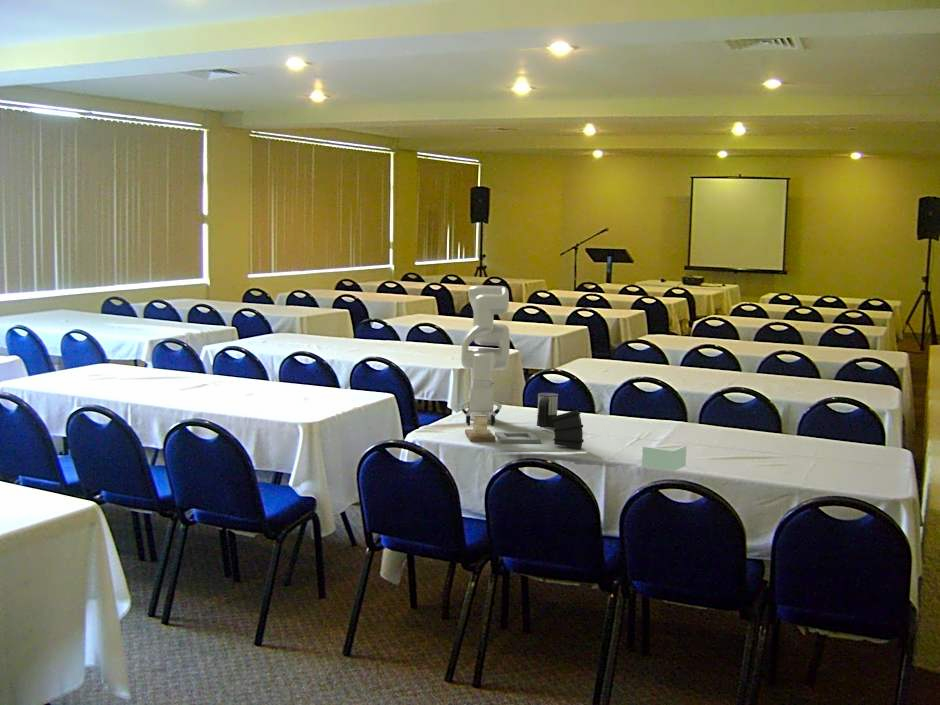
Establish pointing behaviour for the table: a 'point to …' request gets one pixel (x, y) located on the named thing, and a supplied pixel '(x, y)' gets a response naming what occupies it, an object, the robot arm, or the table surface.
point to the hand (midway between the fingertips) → (480, 425)
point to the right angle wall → (664, 458)
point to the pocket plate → (531, 438)
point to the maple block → (480, 424)
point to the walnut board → (479, 436)
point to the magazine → (568, 430)
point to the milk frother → (546, 409)
